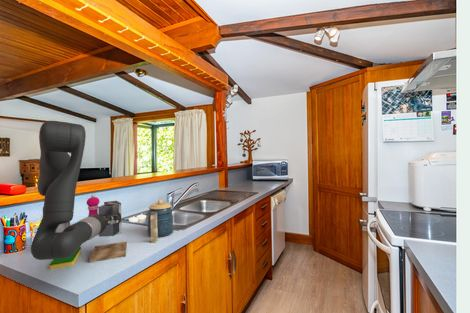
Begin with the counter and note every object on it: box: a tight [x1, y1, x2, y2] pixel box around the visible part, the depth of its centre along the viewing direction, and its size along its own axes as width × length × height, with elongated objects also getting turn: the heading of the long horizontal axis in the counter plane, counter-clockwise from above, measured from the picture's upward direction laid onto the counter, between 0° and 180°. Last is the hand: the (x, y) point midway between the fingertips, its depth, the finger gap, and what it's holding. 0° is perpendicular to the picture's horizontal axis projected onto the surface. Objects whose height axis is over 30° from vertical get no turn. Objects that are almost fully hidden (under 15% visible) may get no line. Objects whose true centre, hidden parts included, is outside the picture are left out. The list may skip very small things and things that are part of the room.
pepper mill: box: [86, 194, 100, 217], centre depth 124 cm, size 7×7×20 cm
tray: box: [89, 241, 128, 263], centre depth 94 cm, size 12×12×2 cm
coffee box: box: [103, 200, 123, 235], centre depth 120 cm, size 9×6×16 cm
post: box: [150, 212, 159, 244], centre depth 106 cm, size 2×2×14 cm
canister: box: [146, 199, 175, 238], centre depth 118 cm, size 13×13×18 cm
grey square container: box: [98, 203, 119, 238], centre depth 95 cm, size 6×7×12 cm
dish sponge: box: [48, 246, 82, 270], centre depth 89 cm, size 7×14×2 cm, turn 24°
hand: (111, 215), depth 97 cm, fingers closed on grey square container, 5 cm apart
